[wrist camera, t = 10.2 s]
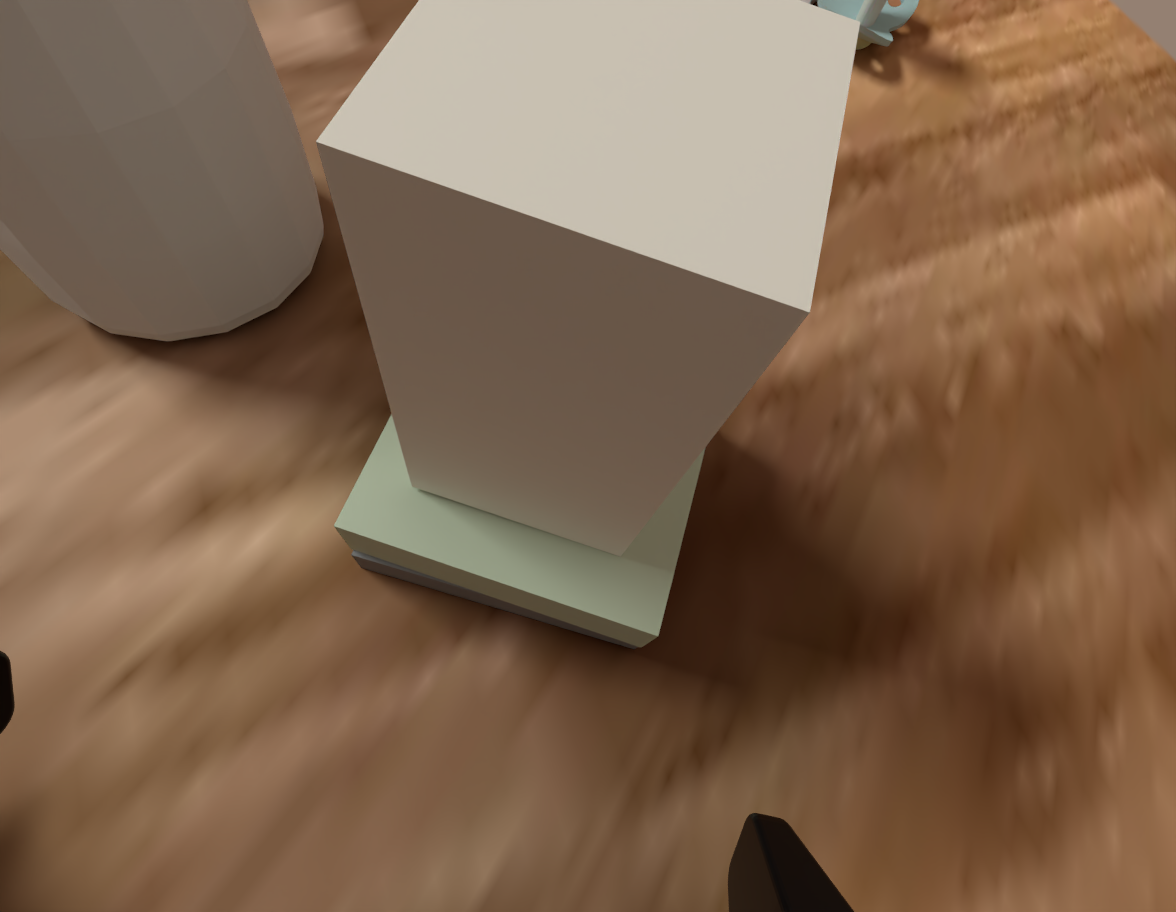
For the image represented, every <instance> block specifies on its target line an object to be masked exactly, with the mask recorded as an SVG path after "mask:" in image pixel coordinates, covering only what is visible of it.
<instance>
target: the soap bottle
mask: <svg viewBox="0 0 1176 912" xmlns="http://www.w3.org/2000/svg"><path fill="white" fill-rule="evenodd" d="M323 235H324V224H323V219H322V214H321V209H320V204H319V199H318V194H317V188H316V185H315V182H314V179H313V175H312V172H311V169H310V166H309V163H308V160H307V157H306V154H305V151H304V148H303V144H302V141H301V138H300V135H299V132H298V129H297V126H296V123H295V120H294V117H293V113H292V110H291V108H290V105H289V103H288V100H287V98H286V95H285V93H284V90H283V88H282V85H281V83H280V80H279V78H278V75H277V73H276V70H275V68H274V66H273V63H272V61H271V58H270V56H269V53H268V51H267V48H266V46H265V43H264V41H263V38H262V36H261V33H260V31H259V28H258V26H257V23H256V21H255V18H254V16H253V14H252V11H251V9H250V6H249V4H248V1H247V0H0V250H1V251H2V252H3V253H4V254H5V255H6V256H7V257H8V258H9V259H10V260H11V261H12V262H13V263H14V264H16V265H17V266H18V267H19V268H20V269H21V270H22V271H23V272H24V273H25V274H26V275H27V276H28V277H29V278H30V279H31V280H32V281H33V282H34V283H35V284H36V285H37V286H38V287H39V288H40V289H41V290H42V291H43V292H44V293H45V294H46V295H47V296H48V297H49V298H50V299H51V300H52V301H54V302H55V303H57V304H59V305H61V306H62V307H64V308H66V309H68V310H69V311H71V312H73V313H75V314H77V315H78V316H80V317H82V318H84V319H86V320H87V321H89V322H91V323H93V324H95V325H96V326H98V327H100V328H102V329H104V330H105V331H107V332H109V333H112V334H119V335H126V336H133V337H140V338H147V339H154V340H161V341H174V340H181V339H187V338H193V337H199V336H205V335H212V334H218V333H224V332H228V331H230V330H232V329H234V328H236V327H238V326H240V325H242V324H244V323H246V322H248V321H250V320H253V319H255V318H257V317H259V316H261V315H263V314H265V313H267V312H269V311H271V310H273V309H275V308H277V307H278V306H279V305H280V304H281V303H282V302H283V301H284V300H285V299H286V298H287V297H288V296H289V295H290V294H291V293H292V292H293V291H294V289H295V288H296V287H297V286H298V285H299V284H300V283H301V282H302V281H303V280H304V279H305V278H306V277H307V276H308V275H309V274H310V273H311V270H312V267H313V264H314V261H315V258H316V256H317V253H318V250H319V247H320V244H321V241H322V238H323Z"/></svg>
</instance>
